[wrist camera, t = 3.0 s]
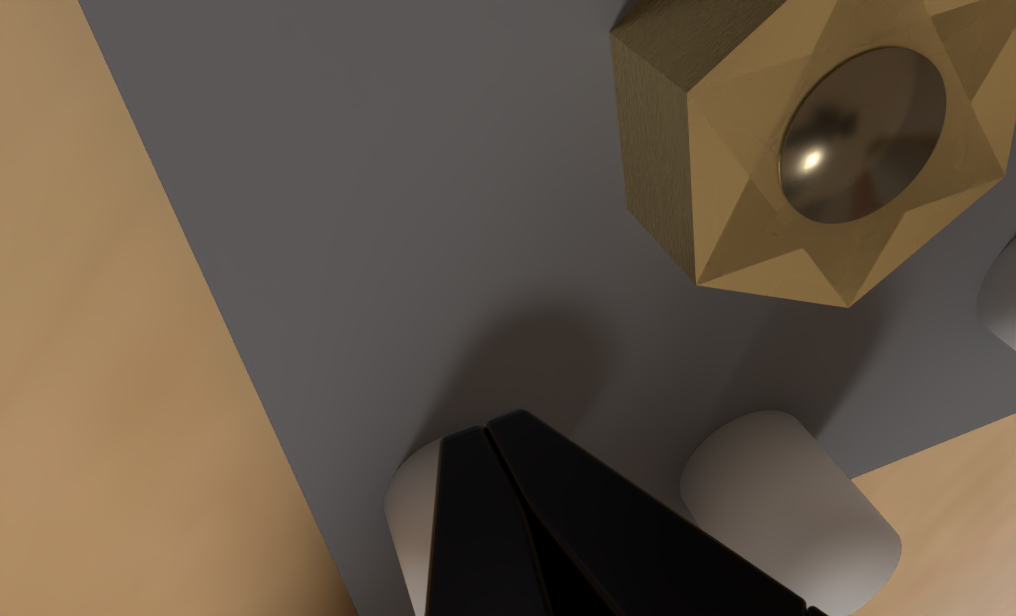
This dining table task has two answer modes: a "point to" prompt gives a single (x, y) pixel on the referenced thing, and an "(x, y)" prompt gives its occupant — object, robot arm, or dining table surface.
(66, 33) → the dining table surface
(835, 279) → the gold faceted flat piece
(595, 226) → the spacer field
